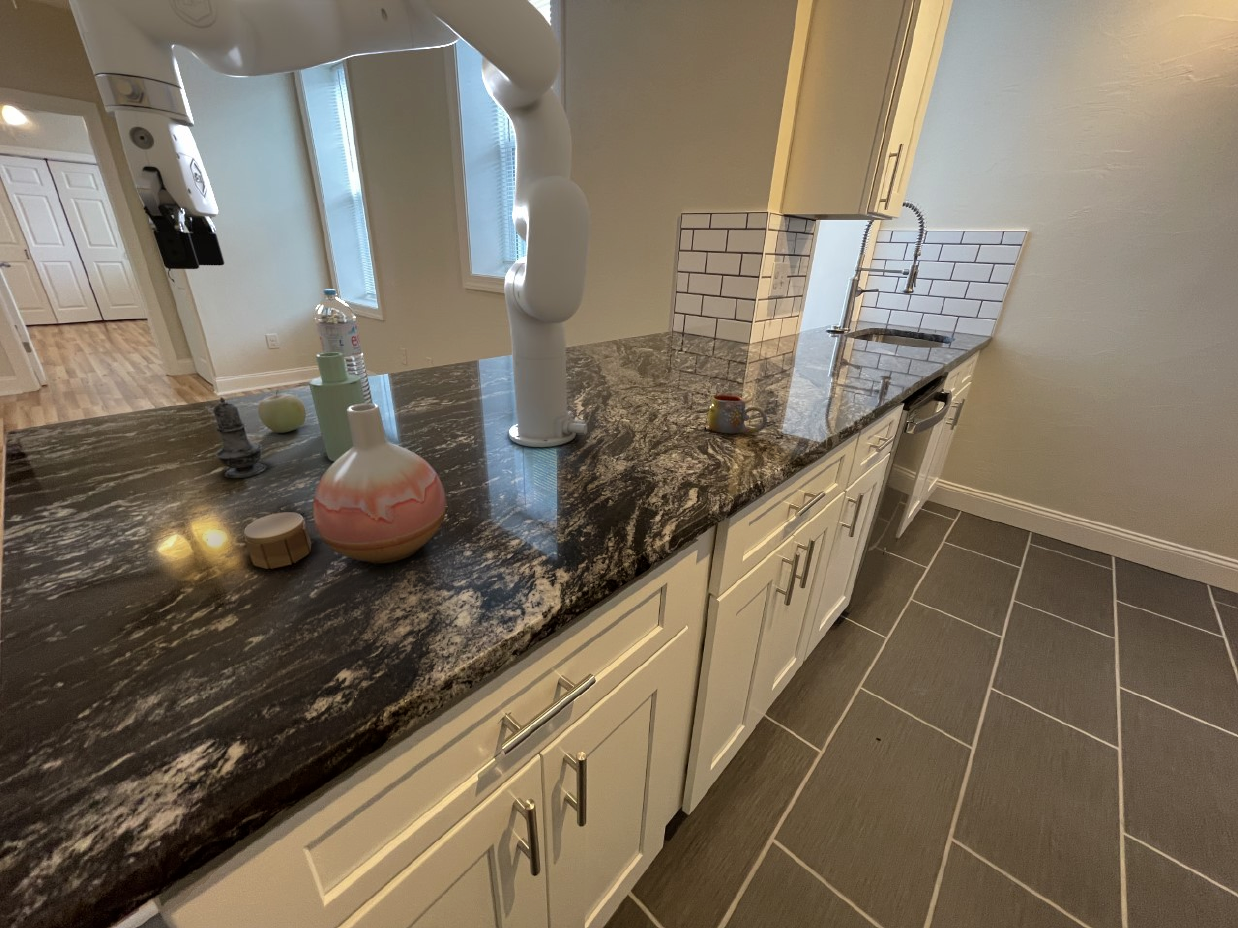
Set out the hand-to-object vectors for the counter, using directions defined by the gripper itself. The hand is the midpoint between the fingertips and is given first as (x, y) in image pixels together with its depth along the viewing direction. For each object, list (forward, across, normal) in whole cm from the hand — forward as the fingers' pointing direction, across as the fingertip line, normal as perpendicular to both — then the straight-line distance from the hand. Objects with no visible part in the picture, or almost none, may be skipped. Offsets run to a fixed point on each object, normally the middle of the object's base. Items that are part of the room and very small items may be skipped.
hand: (197, 266), depth 62 cm
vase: (+30, -28, -19) cm, 45 cm away
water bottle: (+30, +25, -11) cm, 41 cm away
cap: (+30, -24, -7) cm, 39 cm away
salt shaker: (+30, +3, +3) cm, 30 cm away
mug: (+30, -8, -82) cm, 87 cm away
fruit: (+30, +22, 0) cm, 37 cm away
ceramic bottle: (+30, +5, -12) cm, 33 cm away
